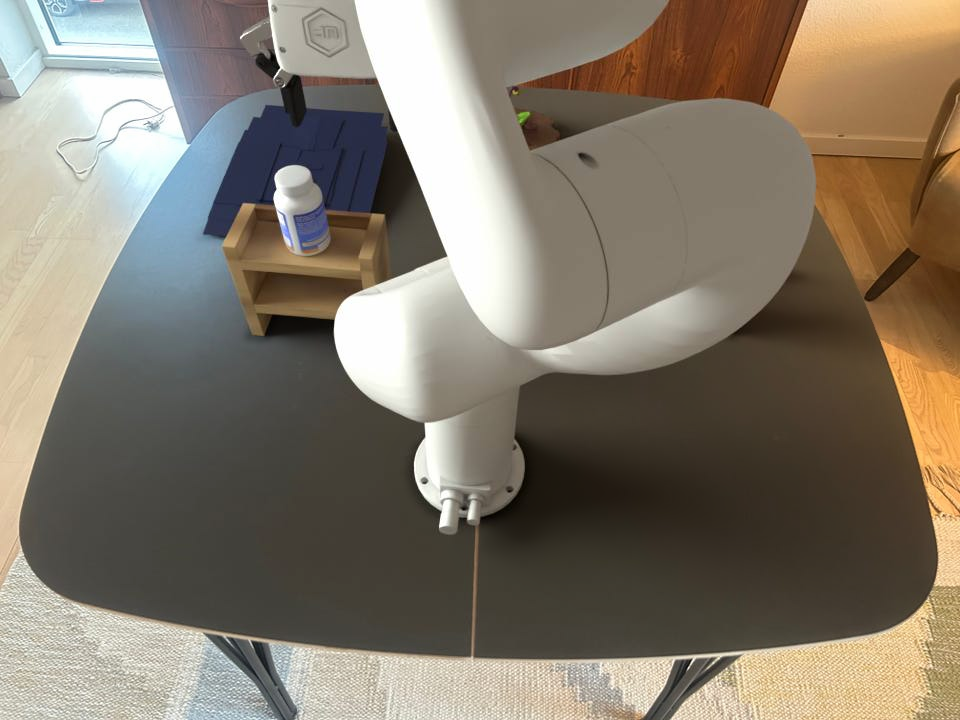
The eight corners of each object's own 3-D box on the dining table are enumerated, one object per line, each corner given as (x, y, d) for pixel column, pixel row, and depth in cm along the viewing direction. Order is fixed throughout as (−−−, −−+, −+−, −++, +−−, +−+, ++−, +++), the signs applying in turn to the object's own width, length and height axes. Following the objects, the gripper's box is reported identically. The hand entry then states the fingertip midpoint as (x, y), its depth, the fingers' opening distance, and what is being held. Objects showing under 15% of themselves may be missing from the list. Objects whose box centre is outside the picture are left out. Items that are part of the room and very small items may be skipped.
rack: (383, 346, 93) (372, 259, 81) (252, 335, 94) (221, 246, 82) (394, 303, 98) (385, 214, 86) (269, 292, 99) (243, 202, 87)
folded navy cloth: (396, 127, 123) (394, 109, 120) (364, 259, 107) (361, 243, 104) (259, 117, 124) (253, 99, 121) (206, 246, 108) (198, 230, 105)
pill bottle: (338, 232, 87) (326, 165, 79) (320, 261, 83) (306, 194, 76) (296, 224, 88) (280, 157, 80) (278, 253, 84) (259, 185, 77)
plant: (423, 170, 117) (420, 109, 109) (460, 109, 129) (460, 49, 121) (541, 194, 114) (548, 133, 105) (567, 129, 126) (575, 69, 117)
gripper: (198, -57, 55) (251, 138, 68) (420, -49, 54) (430, 148, 67) (228, -91, 60) (272, 98, 73) (432, -84, 59) (439, 106, 72)
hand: (348, 121), depth 70 cm, fingers open, 9 cm apart
